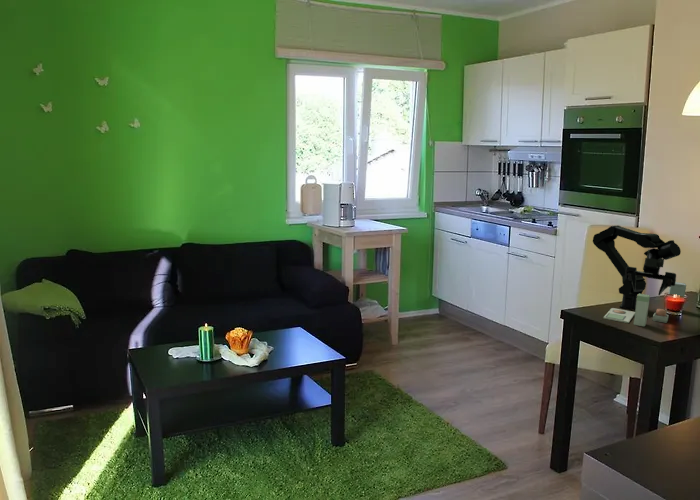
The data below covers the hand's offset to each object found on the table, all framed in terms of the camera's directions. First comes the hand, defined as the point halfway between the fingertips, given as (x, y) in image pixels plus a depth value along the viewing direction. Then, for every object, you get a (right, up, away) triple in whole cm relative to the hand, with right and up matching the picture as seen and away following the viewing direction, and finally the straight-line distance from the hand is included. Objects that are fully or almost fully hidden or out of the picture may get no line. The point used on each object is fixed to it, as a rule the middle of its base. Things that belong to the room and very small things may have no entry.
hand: (646, 292), depth 249 cm
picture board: (-7, -10, +8) cm, 15 cm away
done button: (+8, -9, +4) cm, 13 cm away
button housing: (+8, -12, +4) cm, 15 cm away
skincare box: (+22, -9, +21) cm, 32 cm away
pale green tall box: (-4, -12, -2) cm, 13 cm away
